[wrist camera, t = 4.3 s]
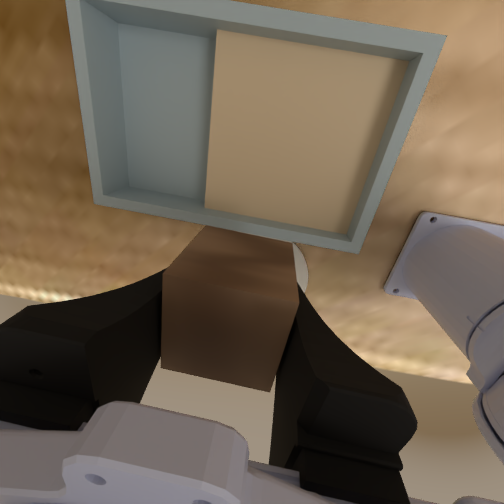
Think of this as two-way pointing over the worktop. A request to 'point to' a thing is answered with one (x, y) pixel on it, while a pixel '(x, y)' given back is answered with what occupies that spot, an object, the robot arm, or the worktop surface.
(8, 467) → the robot arm
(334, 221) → the caddy
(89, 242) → the worktop surface
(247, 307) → the block
